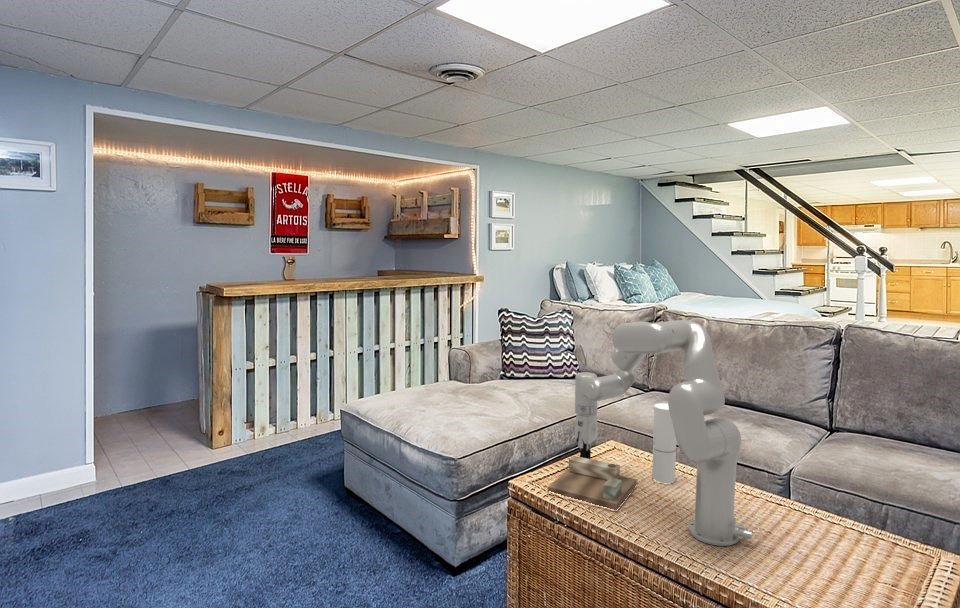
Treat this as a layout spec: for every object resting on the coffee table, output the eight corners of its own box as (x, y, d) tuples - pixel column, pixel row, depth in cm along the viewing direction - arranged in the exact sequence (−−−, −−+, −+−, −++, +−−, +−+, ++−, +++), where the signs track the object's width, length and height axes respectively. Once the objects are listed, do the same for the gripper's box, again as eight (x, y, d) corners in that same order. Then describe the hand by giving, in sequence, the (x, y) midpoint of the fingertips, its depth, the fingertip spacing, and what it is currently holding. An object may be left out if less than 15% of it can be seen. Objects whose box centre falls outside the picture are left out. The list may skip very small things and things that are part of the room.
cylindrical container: (671, 475, 183) (674, 403, 181) (677, 484, 176) (679, 409, 174) (650, 475, 184) (652, 403, 181) (654, 484, 177) (656, 409, 174)
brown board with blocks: (636, 486, 175) (637, 467, 174) (616, 512, 158) (616, 491, 157) (572, 472, 187) (573, 453, 186) (547, 494, 170) (547, 474, 169)
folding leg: (619, 477, 176) (619, 464, 175) (615, 481, 172) (615, 469, 172) (573, 466, 184) (573, 455, 184) (568, 471, 181) (568, 458, 180)
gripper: (588, 416, 178) (587, 470, 179) (604, 405, 190) (603, 455, 192) (567, 412, 182) (566, 465, 184) (583, 401, 194) (583, 451, 196)
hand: (585, 460), depth 188 cm, fingers closed
